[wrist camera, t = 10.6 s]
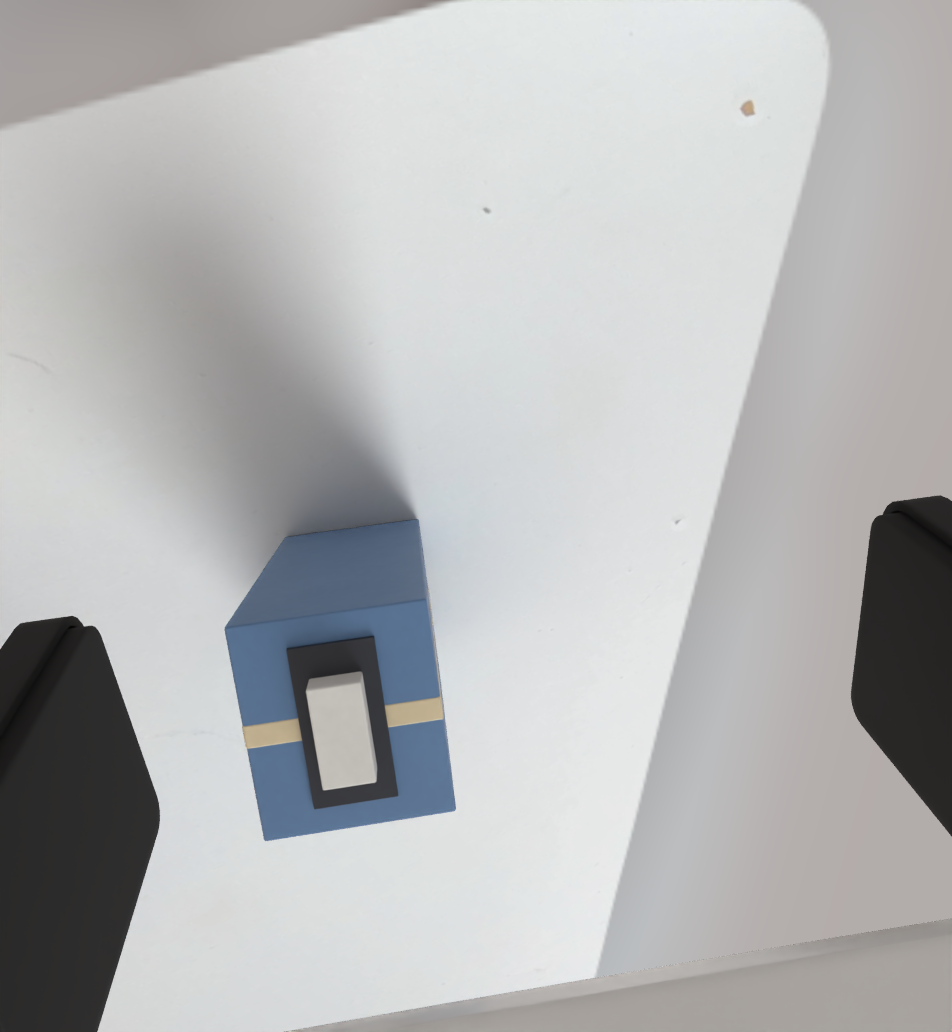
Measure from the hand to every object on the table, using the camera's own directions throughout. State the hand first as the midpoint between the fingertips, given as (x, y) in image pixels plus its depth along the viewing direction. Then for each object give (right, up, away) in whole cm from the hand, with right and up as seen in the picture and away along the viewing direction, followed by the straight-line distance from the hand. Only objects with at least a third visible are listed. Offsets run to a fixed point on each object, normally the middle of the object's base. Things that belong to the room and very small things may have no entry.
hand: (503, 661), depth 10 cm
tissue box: (-5, 0, +20) cm, 21 cm away
